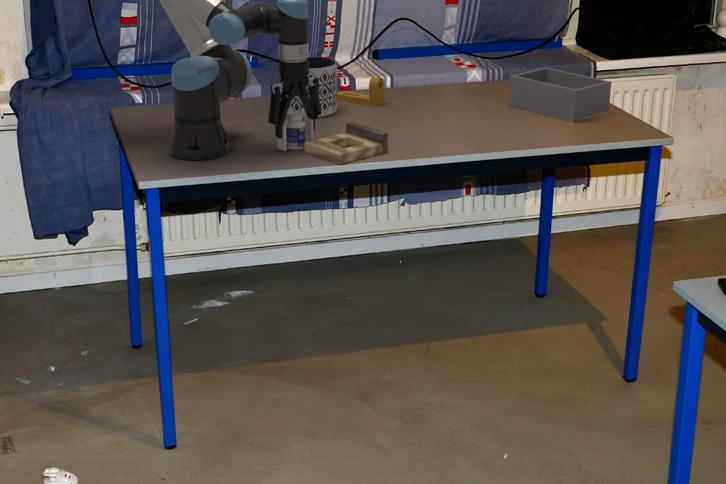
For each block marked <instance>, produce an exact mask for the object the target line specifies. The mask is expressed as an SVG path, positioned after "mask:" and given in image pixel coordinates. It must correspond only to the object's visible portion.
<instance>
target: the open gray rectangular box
mask: <svg viewBox="0 0 726 484" xmlns="http://www.w3.org/2000/svg"><path fill="white" fill-rule="evenodd" d="M509 77H510V79H509V80H510V81H509V97H508V99H509V101H508V106H509V107H513V108H516V109H520V110H524V111H528V112H532V111H533V112H532V113H535V112H537V113H536V114H539V113H541V114H540V115H543V114H545V116H547V115H550V116H549V117H551V116H554V117H553V118H555V117H559V118H562V119H561V120H563V119H567V120H571V121H576V120H579V119H582V118H585V117H588V116H592V115H595V114H599V113H602V112H606V111H609V112H610V102H611V92H612V90H611V89H612V81H610V80H609V81H608V80H605V79H600V78H595V77H590V76H586V75H582V74H578V73H573V72H568V71H563V70H560V69H554V68H550V67H541V68H538V69H534V70H529V71H525V72H521V73H516V74H512V75H510V76H509ZM559 118H558V119H559ZM567 120H566V121H567Z"/></svg>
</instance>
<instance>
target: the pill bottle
mask: <svg viewBox="0 0 726 484" xmlns="http://www.w3.org/2000/svg"><path fill="white" fill-rule="evenodd" d="M286 119H287V121H285V122H284V125H285V126H286V144H287V150H288V149H289V150H294V151H295V150H304V149H305V145H304V143H305V142H306V141H305V122H304V121H303V119H304V118H303V114H302V113H300V112H290V113H288V114H286Z"/></svg>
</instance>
